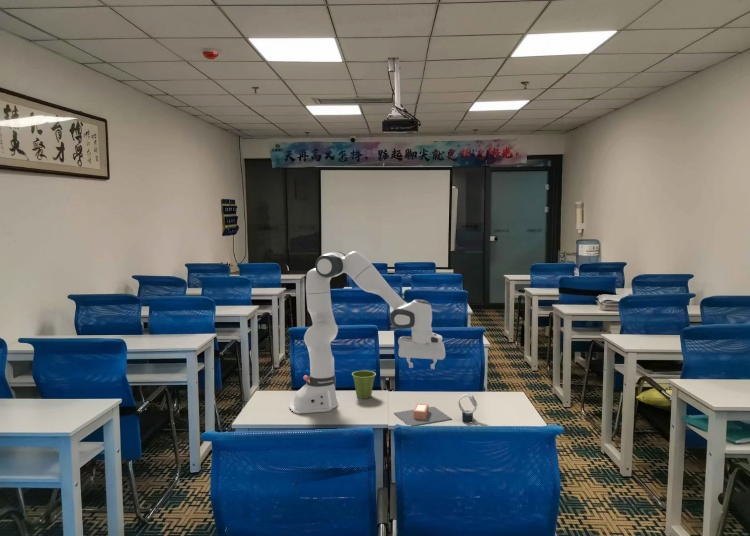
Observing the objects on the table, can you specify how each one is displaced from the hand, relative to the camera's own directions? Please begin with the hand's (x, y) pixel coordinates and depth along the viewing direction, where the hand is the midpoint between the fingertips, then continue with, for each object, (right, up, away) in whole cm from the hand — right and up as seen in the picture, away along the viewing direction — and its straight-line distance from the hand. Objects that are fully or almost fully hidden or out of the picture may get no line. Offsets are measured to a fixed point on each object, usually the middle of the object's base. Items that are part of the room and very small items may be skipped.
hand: (421, 368), depth 219 cm
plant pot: (-26, -19, +27) cm, 42 cm away
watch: (+19, -21, -5) cm, 29 cm away
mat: (0, -21, -1) cm, 21 cm away
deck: (+1, -18, +5) cm, 19 cm away
